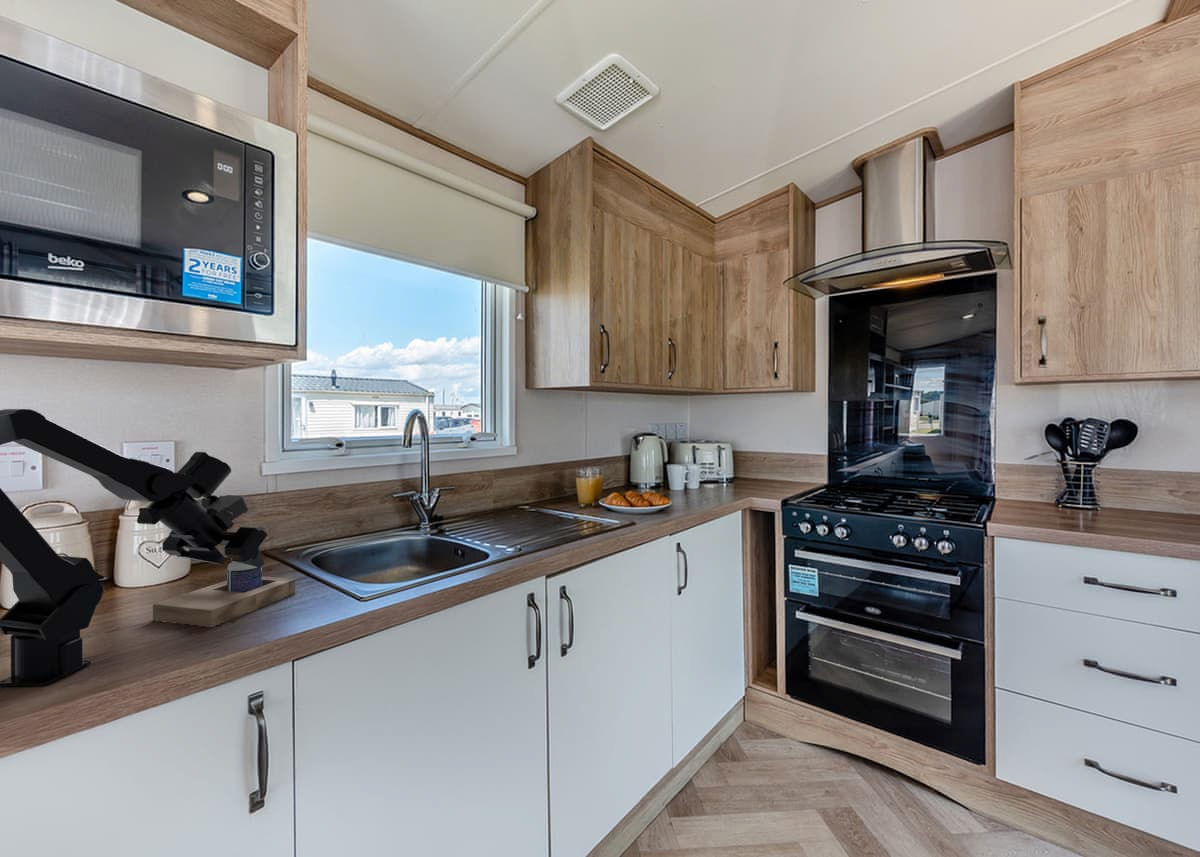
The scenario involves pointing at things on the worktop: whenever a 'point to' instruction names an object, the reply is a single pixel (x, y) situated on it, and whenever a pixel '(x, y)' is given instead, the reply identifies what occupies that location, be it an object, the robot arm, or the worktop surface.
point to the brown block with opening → (221, 602)
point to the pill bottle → (243, 577)
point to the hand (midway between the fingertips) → (243, 563)
